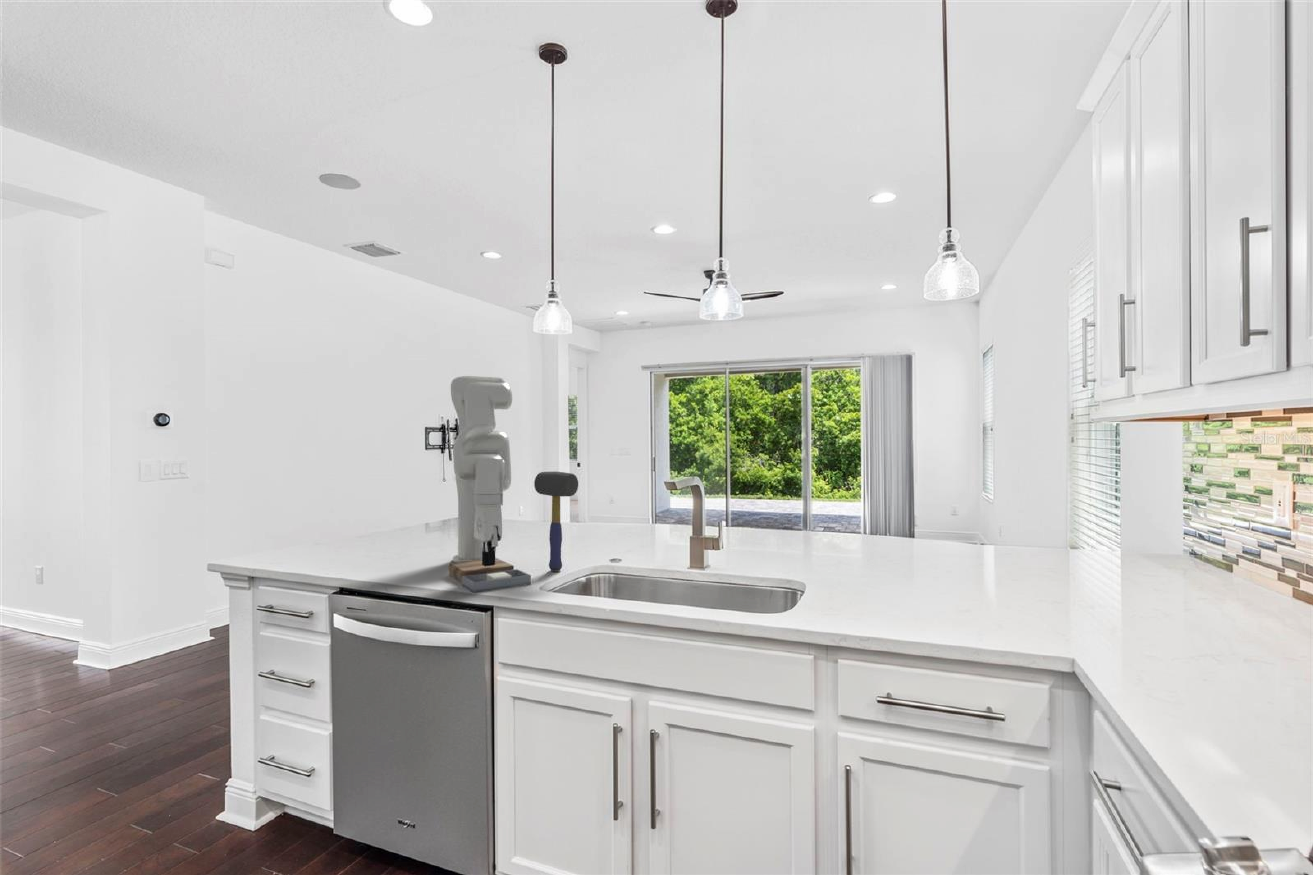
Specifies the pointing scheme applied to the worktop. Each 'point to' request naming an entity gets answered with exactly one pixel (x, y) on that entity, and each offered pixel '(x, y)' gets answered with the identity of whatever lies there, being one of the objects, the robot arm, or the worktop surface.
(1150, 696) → the worktop surface
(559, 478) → the rubber mallet
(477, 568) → the walnut board
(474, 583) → the tray
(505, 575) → the cream tile
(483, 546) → the robot arm
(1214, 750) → the worktop surface
